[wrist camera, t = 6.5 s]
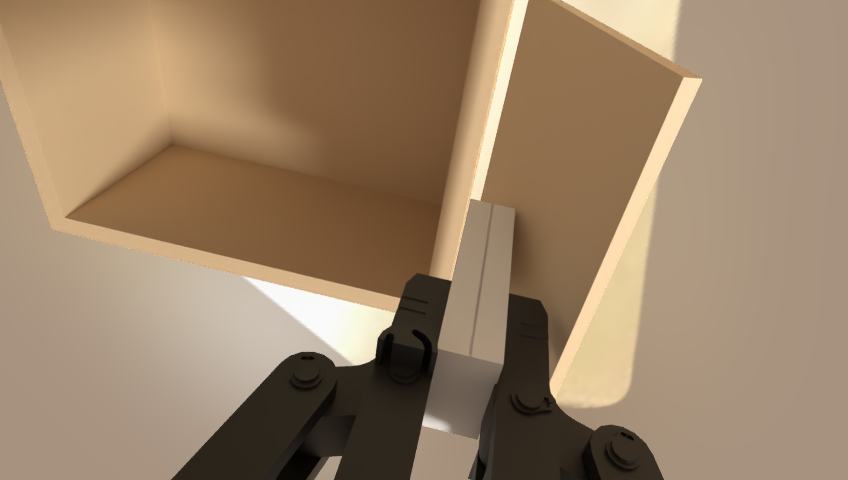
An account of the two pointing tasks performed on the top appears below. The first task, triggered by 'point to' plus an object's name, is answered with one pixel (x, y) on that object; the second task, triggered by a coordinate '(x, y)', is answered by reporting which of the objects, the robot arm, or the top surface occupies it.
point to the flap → (579, 160)
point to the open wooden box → (260, 130)
